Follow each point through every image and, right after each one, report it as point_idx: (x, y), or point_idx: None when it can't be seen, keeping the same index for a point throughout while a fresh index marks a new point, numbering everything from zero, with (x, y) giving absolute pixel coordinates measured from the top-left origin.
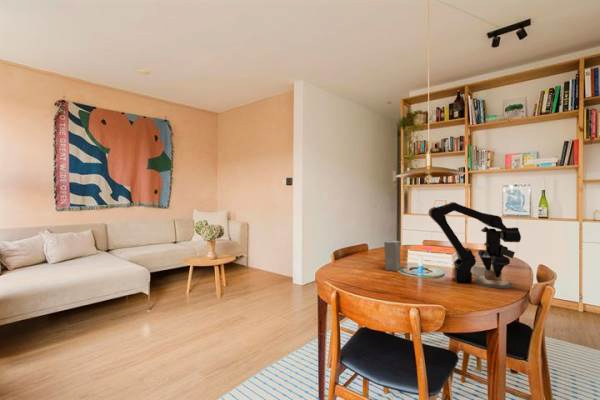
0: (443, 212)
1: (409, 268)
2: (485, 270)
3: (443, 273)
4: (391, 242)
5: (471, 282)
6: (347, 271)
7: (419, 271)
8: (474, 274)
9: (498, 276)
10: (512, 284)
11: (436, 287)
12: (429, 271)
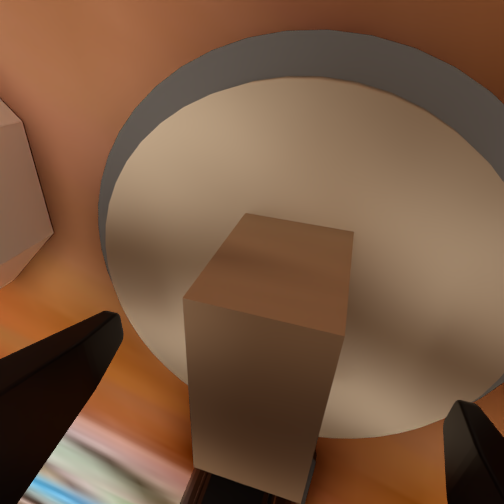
0: None
1: (27, 500)
2: (218, 473)
3: None
4: None
5: (315, 462)
6: None
7: (68, 500)
8: (12, 279)
9: (484, 430)
10: (460, 71)
11: None
12: (46, 467)
